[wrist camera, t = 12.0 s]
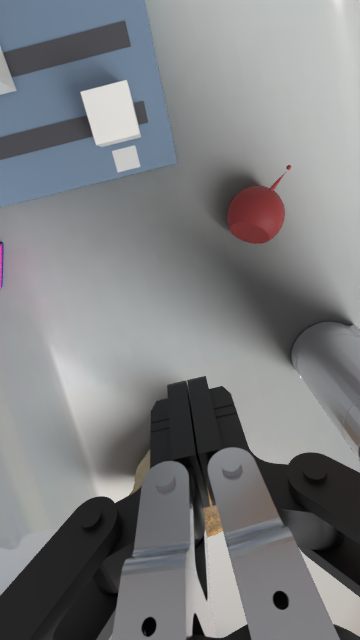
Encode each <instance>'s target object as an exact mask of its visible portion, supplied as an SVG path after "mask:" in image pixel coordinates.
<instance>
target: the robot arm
mask: <svg viewBox="0 0 360 640" xmlns="http://www.w3.org/2000/svg"><path fill="white" fill-rule="evenodd" d="M291 359H292V363H293V365H294V367H295V369H296V370H297V372H298V374H299V375H300V377H302V379H303V380H304V382H305V383H306V385H307V386H308V388H309V389H310V390H311V392H312V393H313V395H314V396H315V398H316V399H317V400H318V402H319V403H320V405H321V406H322V408H323V409H324V411H325V412H326V413H327V415H328V416H329V418H330V419H331V421H332V422H333V423H334V425H335V426H336V428H337V429H338V431H339V432H340V433H341V435H342V436H343V438H344V439H345V441H346V442H347V443H348V445H349V446H350V448H351V449H352V451H353V452H354V453H355V455H356V456H357V458H358V459H359V461H360V329H359V328H358V327H356V326H355V325H350V326H346V325H344V324H341V323H339V322H333V321H330V322H322V323H318V324H315V325H313V326H311V327H309V328H308V329H306V330H305V331H304V332H303V333H302V334H300V336H299V337H298V338H297V340H296V341H295V343H294V345H293V348H292V351H291ZM187 382H188V386H187ZM187 382H186V381H182V382H178V383H173V384H169V385H167V390H168V399H163V400H159V401H156V403H155V405H154V407H153V409H152V411H151V438H150V470H149V471H148V472H147V474H146V475H145V477H144V479H143V482H142V486H141V487H140V488H139V489H138V490H137V491H135V492H134V493H133V494H131V495H129V496H127V497H126V498H124V499H122V500H120V501H118V502H116V503H114V502H113V501H112V500H111V499H110V498H107V497H95V498H92V499H89V500H87V501H86V502H84V503H83V504H82V505H80V506H79V507H78V508H77V509H76V510H75V511H74V513H73V514H72V515H71V516H70V517H69V518H68V519H67V521H66V522H65V523H64V524H63V525H62V526H61V527H60V529H59V530H58V531H57V532H56V533H55V534H54V535H53V536H52V538H51V539H50V540H49V541H48V542H47V543H46V544H45V546H44V547H43V548H42V549H41V550H40V551H39V553H38V554H37V555H36V556H35V557H34V558H33V559H32V560H31V562H30V563H29V564H28V565H27V566H26V567H25V569H24V570H23V571H22V572H21V573H20V574H19V575H18V576H17V578H16V579H15V580H14V581H13V582H12V583H11V584H10V585H9V587H8V588H7V589H6V590H5V591H4V592H3V594H2V595H1V596H0V640H108V639H109V638H110V636H111V635H112V640H360V637H359V636H357V635H355V634H354V633H352V632H350V631H349V630H347V629H344V628H342V627H340V626H337V625H335V624H333V623H332V621H331V619H330V617H329V614H328V612H327V610H326V608H325V605H324V603H323V601H322V599H321V597H320V594H319V592H318V590H317V588H316V586H315V583H314V581H313V579H312V577H311V574H310V572H309V570H308V568H307V566H306V564H305V561H304V559H303V557H302V555H301V552H300V550H301V551H302V552H303V553H304V554H305V555H306V556H307V557H308V558H310V559H311V560H312V561H314V562H315V563H316V564H318V565H319V566H320V567H321V568H323V569H324V570H325V571H327V572H328V573H329V574H331V575H332V576H333V577H334V578H336V579H337V580H338V581H340V582H341V583H342V584H344V585H345V586H346V587H347V588H349V589H350V590H351V591H353V592H354V593H355V594H356V595H358V596H359V597H360V473H359V472H357V471H355V470H353V469H351V468H349V467H347V466H345V465H343V464H341V463H339V462H337V461H335V460H333V459H331V458H329V457H327V456H325V455H322V454H319V453H303V454H300V455H298V456H296V457H294V458H293V459H292V460H291V461H290V463H289V465H286V464H274V463H269V462H265V461H263V460H261V459H259V458H257V457H256V456H255V455H254V454H253V453H252V452H251V451H250V449H249V447H248V444H247V441H246V438H245V435H244V432H243V429H242V426H241V423H240V420H239V417H238V414H237V411H236V408H235V406H234V402H233V399H232V396H231V394H230V393H229V392H228V391H227V390H226V389H225V388H224V387H223V386H221V387H216V388H212V389H209V388H208V384H207V380H206V376H204V377H199V378H195V379H190V380H187ZM208 491H209V494H208ZM209 495H210V499H211V502H212V506H215V505H217V509H218V513H219V517H220V521H221V524H222V528H223V532H224V535H225V540H226V544H227V547H228V551H229V555H230V559H231V563H232V567H233V570H234V574H235V578H236V582H237V586H238V589H239V593H240V597H241V601H242V605H243V608H244V612H245V616H246V620H247V625H245V626H243V627H242V628H240V629H238V630H237V631H235V632H233V633H232V634H230V635H228V636H226V637H224V638H216V632H215V626H214V620H213V614H212V607H211V593H210V578H209V563H208V548H207V534H206V530H205V527H206V526H205V517H204V510H203V508H207V507H211V506H210V500H209ZM298 547H299V548H300V550H299V548H298Z"/></svg>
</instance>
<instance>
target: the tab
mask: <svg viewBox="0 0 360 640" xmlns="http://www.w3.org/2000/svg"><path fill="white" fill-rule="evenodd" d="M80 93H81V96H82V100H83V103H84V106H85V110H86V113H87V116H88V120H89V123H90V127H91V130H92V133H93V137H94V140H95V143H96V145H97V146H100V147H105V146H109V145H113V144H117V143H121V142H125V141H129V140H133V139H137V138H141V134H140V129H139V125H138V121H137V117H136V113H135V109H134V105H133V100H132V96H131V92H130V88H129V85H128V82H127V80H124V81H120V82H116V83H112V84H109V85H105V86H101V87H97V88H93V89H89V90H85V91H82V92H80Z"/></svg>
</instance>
